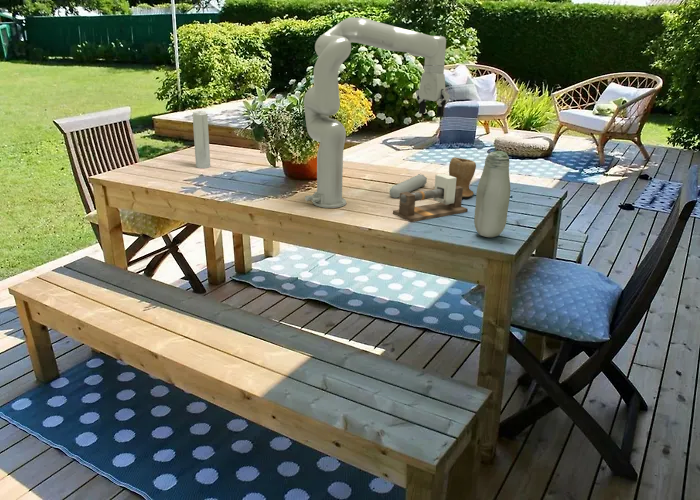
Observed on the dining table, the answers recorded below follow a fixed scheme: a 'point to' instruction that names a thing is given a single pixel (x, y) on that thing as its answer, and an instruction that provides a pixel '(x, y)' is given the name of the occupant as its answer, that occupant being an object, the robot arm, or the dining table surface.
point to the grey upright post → (201, 139)
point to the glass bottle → (493, 195)
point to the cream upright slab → (445, 188)
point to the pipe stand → (431, 210)
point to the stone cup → (462, 173)
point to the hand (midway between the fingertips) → (430, 114)
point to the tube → (408, 185)
